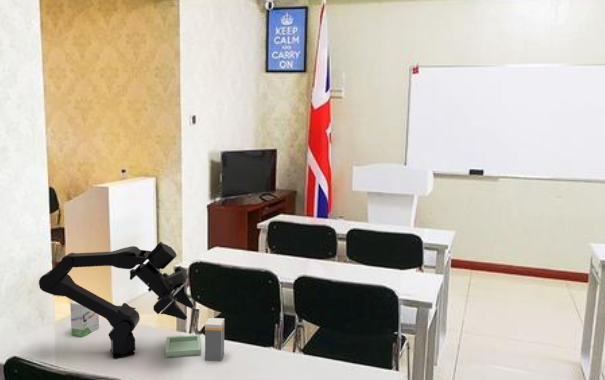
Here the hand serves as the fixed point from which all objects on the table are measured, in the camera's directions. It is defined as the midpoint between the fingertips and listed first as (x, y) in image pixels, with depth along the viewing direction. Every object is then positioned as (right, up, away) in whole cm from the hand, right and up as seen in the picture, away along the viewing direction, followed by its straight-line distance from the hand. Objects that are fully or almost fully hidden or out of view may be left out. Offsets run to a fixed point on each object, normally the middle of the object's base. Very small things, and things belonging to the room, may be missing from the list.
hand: (189, 313), depth 161 cm
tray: (-3, -13, +6) cm, 15 cm away
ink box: (-40, -11, +16) cm, 44 cm away
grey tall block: (+8, -14, +1) cm, 16 cm away
